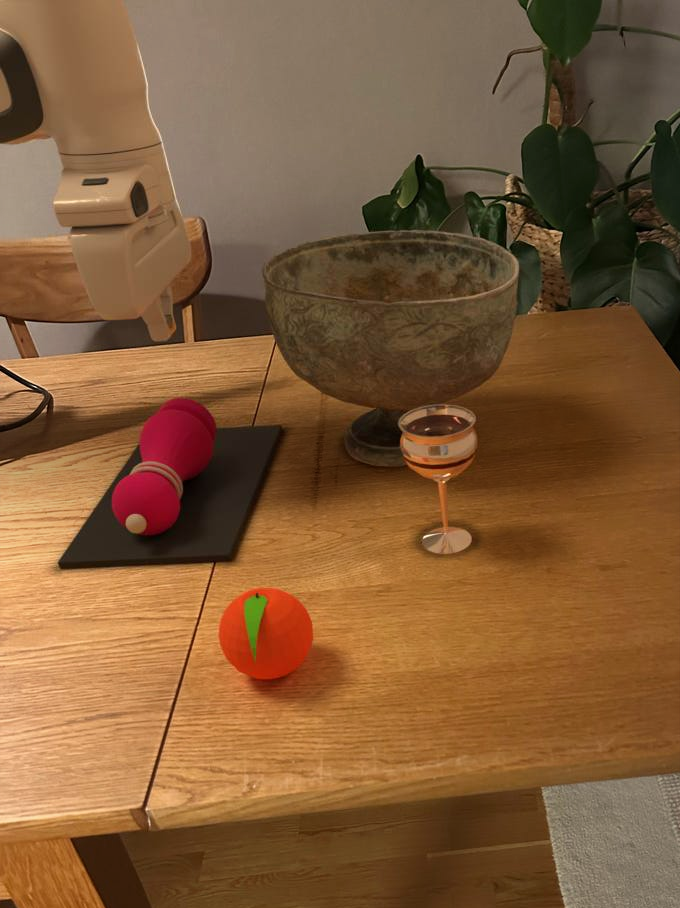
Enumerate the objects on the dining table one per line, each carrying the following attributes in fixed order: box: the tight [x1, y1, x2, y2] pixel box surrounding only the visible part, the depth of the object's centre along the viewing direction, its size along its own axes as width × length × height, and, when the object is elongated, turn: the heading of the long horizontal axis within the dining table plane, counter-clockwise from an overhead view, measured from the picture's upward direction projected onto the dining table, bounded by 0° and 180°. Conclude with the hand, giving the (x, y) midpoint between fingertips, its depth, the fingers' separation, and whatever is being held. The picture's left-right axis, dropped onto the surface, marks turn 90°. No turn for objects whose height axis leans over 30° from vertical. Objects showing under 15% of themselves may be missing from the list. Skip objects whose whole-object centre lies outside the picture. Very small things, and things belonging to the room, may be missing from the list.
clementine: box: [218, 587, 314, 680], centre depth 63 cm, size 8×7×7 cm
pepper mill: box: [112, 397, 218, 535], centre depth 83 cm, size 7×7×20 cm
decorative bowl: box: [261, 229, 520, 468], centre depth 90 cm, size 26×26×20 cm
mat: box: [57, 424, 284, 570], centre depth 88 cm, size 16×28×1 cm, turn 1°
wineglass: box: [398, 403, 478, 555], centre depth 75 cm, size 7×7×12 cm
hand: (164, 336), depth 84 cm, fingers closed
